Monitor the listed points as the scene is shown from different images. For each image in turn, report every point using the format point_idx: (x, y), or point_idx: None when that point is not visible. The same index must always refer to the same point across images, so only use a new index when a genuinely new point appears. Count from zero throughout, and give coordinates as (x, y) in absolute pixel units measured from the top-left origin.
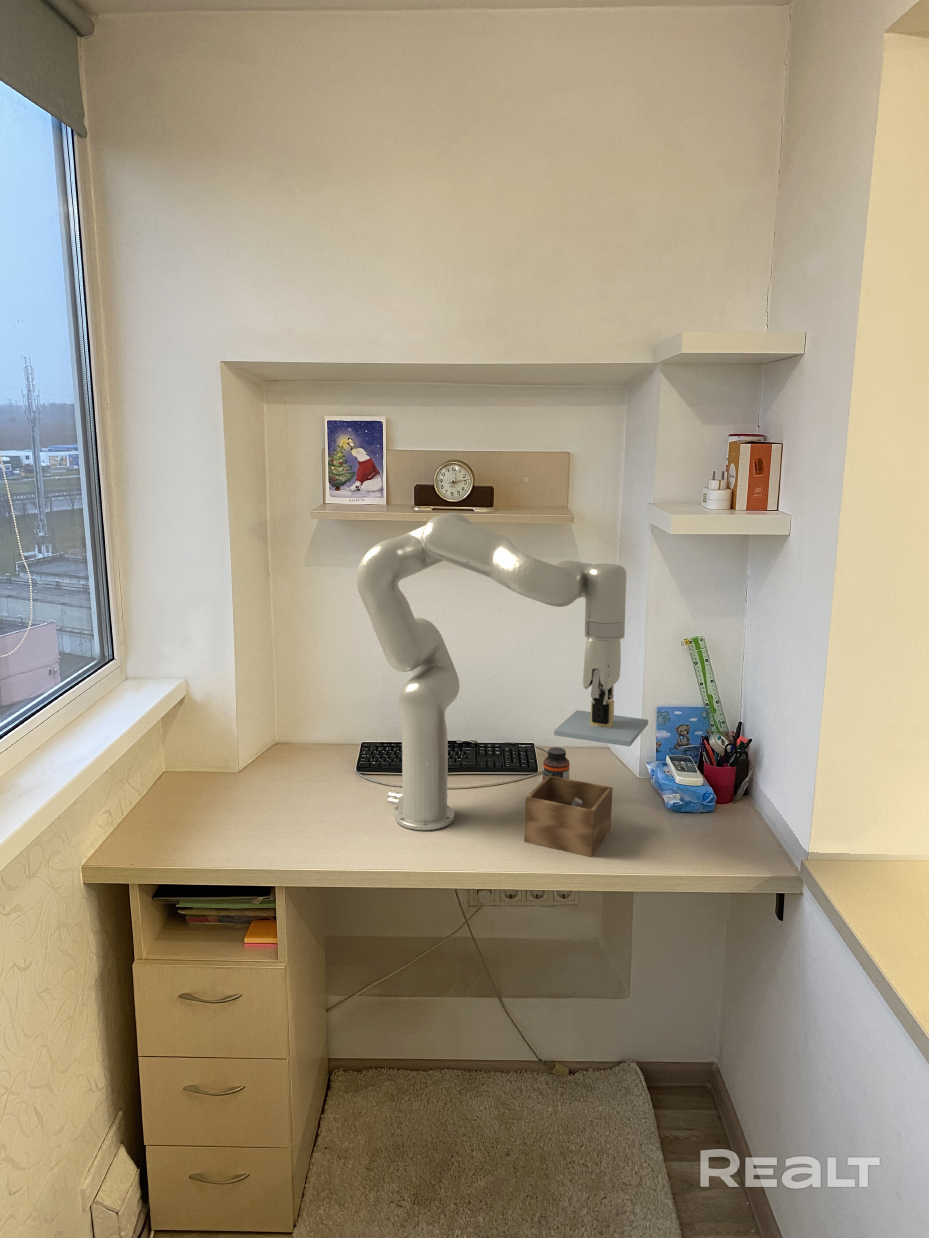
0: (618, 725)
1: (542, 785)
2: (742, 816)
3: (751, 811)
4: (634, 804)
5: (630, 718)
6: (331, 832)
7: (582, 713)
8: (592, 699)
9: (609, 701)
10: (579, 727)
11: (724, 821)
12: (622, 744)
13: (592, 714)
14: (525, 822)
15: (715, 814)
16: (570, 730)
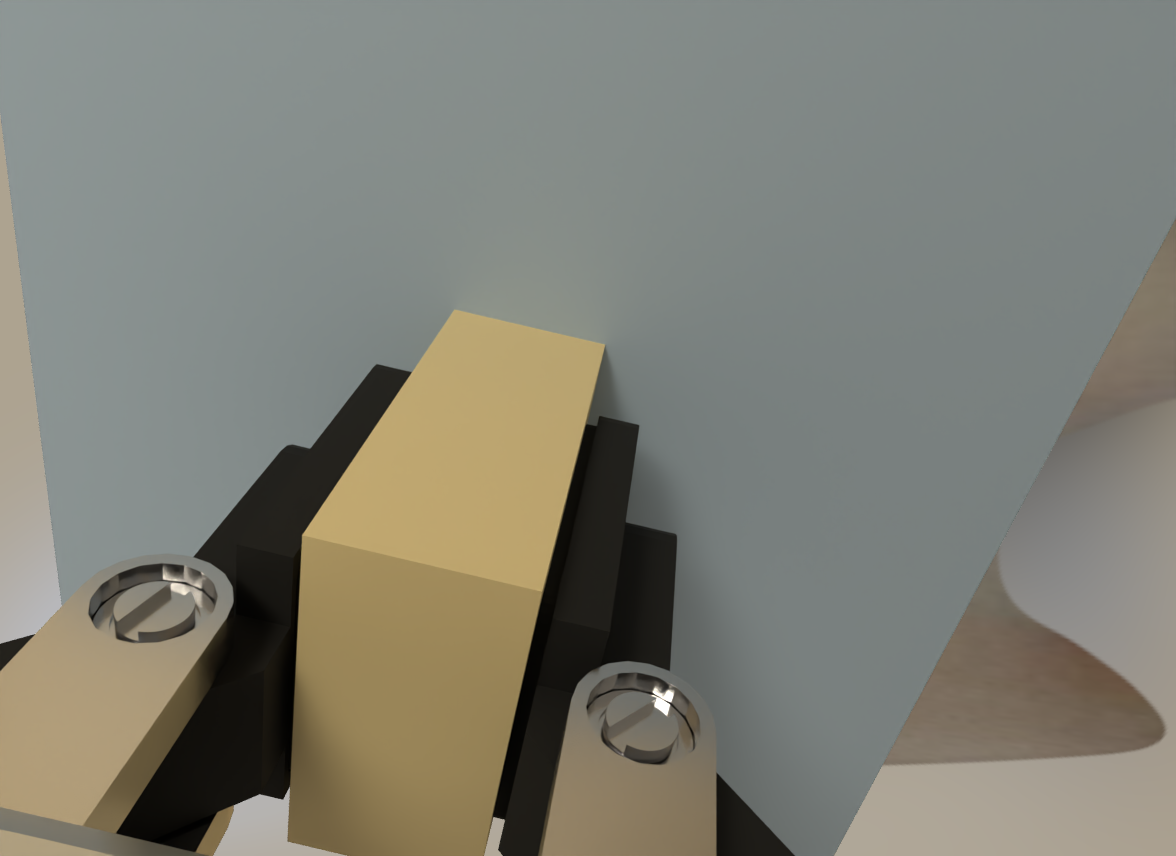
0: None
1: None
2: (1021, 711)
3: (1075, 745)
4: (1159, 291)
5: (842, 749)
6: None
7: (1057, 130)
8: (61, 619)
9: (373, 823)
10: (291, 151)
11: (963, 650)
12: None
13: (334, 421)
14: None
15: (1037, 628)
16: (91, 16)
